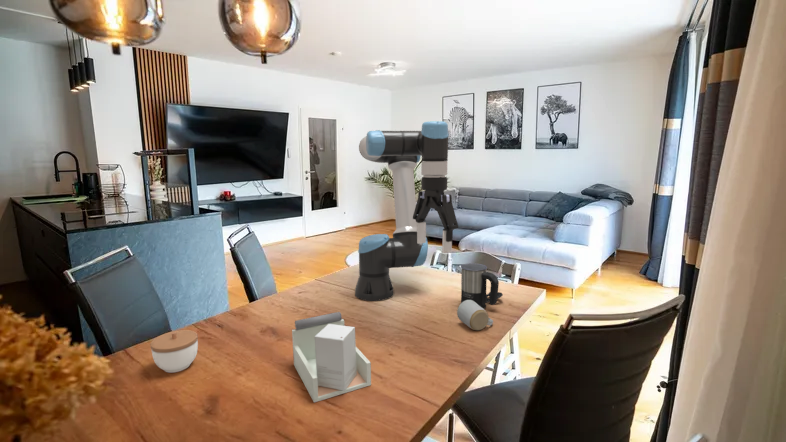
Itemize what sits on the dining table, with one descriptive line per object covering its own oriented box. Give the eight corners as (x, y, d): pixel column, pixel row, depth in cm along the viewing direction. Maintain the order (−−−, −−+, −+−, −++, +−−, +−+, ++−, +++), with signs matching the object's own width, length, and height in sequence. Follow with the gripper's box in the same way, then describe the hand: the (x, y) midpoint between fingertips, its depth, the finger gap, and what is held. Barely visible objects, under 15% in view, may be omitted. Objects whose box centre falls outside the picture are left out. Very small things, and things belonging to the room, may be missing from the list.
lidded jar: (168, 382, 95) (163, 346, 93) (145, 370, 101) (141, 336, 99) (208, 362, 104) (205, 329, 102) (185, 352, 110) (182, 320, 108)
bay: (293, 363, 103) (290, 320, 101) (343, 350, 110) (341, 309, 108) (314, 402, 87) (311, 351, 85) (371, 384, 93) (370, 337, 91)
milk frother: (457, 308, 139) (457, 268, 137) (466, 294, 154) (467, 257, 151) (497, 314, 134) (499, 272, 131) (503, 298, 148) (505, 261, 146)
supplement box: (357, 374, 96) (356, 326, 94) (344, 391, 89) (343, 340, 87) (330, 369, 99) (328, 322, 96) (315, 386, 92) (313, 335, 89)
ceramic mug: (470, 333, 120) (471, 310, 118) (456, 323, 127) (457, 300, 126) (498, 328, 124) (500, 305, 122) (483, 318, 131) (484, 296, 130)
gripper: (472, 177, 104) (470, 255, 108) (422, 174, 126) (421, 238, 130) (449, 178, 101) (448, 258, 104) (402, 174, 123) (402, 240, 126)
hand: (433, 247), depth 117 cm, fingers open, 13 cm apart
